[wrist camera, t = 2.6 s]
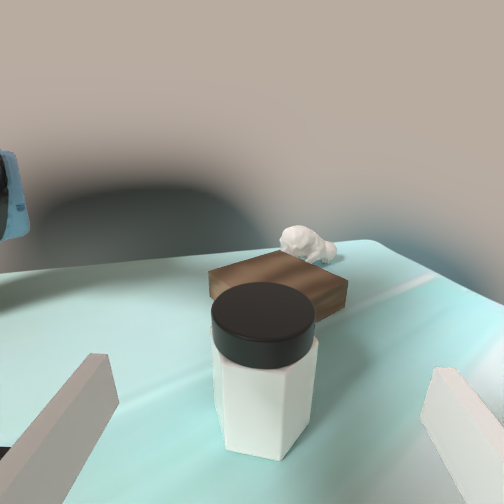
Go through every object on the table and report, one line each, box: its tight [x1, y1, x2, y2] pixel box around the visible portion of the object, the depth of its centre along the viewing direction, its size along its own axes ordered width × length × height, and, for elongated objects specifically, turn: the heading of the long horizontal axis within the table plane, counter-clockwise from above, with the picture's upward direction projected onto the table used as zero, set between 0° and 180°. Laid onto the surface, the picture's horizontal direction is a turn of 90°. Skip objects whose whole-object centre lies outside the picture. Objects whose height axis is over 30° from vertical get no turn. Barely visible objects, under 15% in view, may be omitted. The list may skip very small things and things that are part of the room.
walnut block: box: [208, 250, 348, 323], centre depth 44 cm, size 15×15×5 cm
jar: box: [210, 282, 319, 461], centre depth 24 cm, size 9×8×12 cm
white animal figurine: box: [280, 225, 337, 264], centre depth 56 cm, size 6×8×12 cm
